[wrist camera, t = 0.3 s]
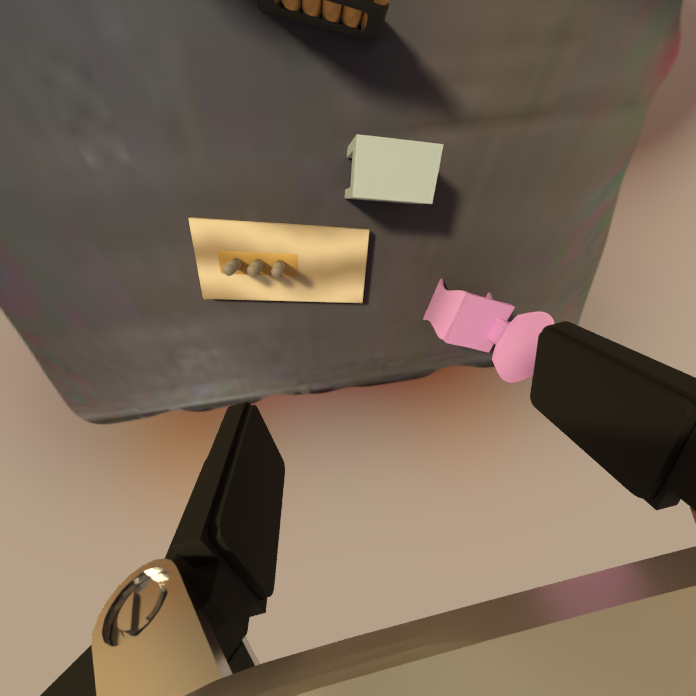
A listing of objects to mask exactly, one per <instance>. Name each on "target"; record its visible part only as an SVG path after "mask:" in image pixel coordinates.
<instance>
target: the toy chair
mask: <svg viewBox="0 0 696 696" xmlns="http://www.w3.org/2000/svg"><path fill="white" fill-rule="evenodd" d="M514 308H515V307H514V306H512V305H511V304H508V303H503V302H499V301H496V300H493V298H492V295H491V293H488V294H487V296H486V298H485V297H481V296H478V295H475V294H471V293H468V292H465V291H462V290H454V291H448V290H446V289H445V288H444V284H443V279H440V281H439V283H438V286H437V288H436V290H435V293H434V295H433V297H432V300H431V302H430V304H429V307H428V309H427V311H426V313H425V316H424V318H423V320H428V321H430V322H431V324H432V325H433V327H434V329H435V331H436V334H437V335H438V337H439V338H441V339H443V340H444V341H445V342H446V343H449V344H453V345H458V346H463V347H468V348H472V349H476V350H480V351H484V352H489V351H490V350H491V348H492V346H493V344H495V345H496V346H495V349H494V353H493V357H492V361H493V363H494V365H495V368H496V370H497V372H498V374H499V376H500V377H501V378H502V379H503V380H504V381H506V382H508V383H515V382H519V381H522V380H524V379H527V378H529V377H531V376H533V372H534V365H535V357H536V350H537V342H538V336H539V334H540V333H541V332H542V330H543V328H544V327H546V326H548V325H552V324H554V320H553V319H552V317H551V316H550V315H549V314H548V313H545V312H531V313H526V314H522V315H517V316H516V317H515V318H514V319H513V320H512V321H511V322H508V321H507V320H508V318H509V317H510V315H511V313H512V312H513V310H514Z"/></svg>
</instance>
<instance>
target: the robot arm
mask: <svg viewBox="0 0 696 696" xmlns="http://www.w3.org/2000/svg"><path fill="white" fill-rule="evenodd" d="M530 399H531V402H532V404H533V406H534V407H535V408H536V409H537V410H539V411H540V412H541V413H542V414H543V415H544V416H545V417H546V418H548V419H549V420H550V421H551V422H552V423H553V424H554V425H555V426H557V427H558V428H559V429H560V430H561V431H562V432H563V433H564V434H566V435H567V436H568V437H569V438H570V439H571V440H572V441H573V442H575V443H576V444H577V445H578V446H579V447H580V448H581V449H583V450H584V451H585V452H586V453H587V454H588V455H589V456H590V457H592V458H593V459H594V460H595V461H596V462H597V463H598V464H599V465H600V466H602V467H603V468H604V469H605V470H606V471H607V472H608V473H609V474H611V475H612V476H613V477H614V478H615V479H616V480H617V481H618V482H620V483H621V484H622V485H623V486H624V487H625V488H626V489H628V490H629V491H630V492H631V493H632V494H634V495H635V496H637V497H639V498H643V499H644V500H645V501H646V502H648V503H649V504H650V505H651V506H652V507H653V508H654V509H656V510H659V509H663V508H667V507H671V506H675V505H677V504H678V503H679V501H680V499H682V500H683V501H684V502H686V503H687V504H688V505H689V506H690V509H691V512H692V514H693V517H694V520H695V523H696V378H694V377H692V376H690V375H688V374H686V373H683V372H681V371H679V370H677V369H674V368H672V367H670V366H667V365H665V364H663V363H661V362H659V361H656V360H654V359H652V358H650V357H647V356H645V355H643V354H640V353H638V352H636V351H634V350H631V349H629V348H627V347H625V346H622V345H620V344H618V343H616V342H613V341H611V340H609V339H607V338H604V337H602V336H600V335H597V334H595V333H593V332H590V331H588V330H586V329H584V328H582V327H579V326H577V325H575V324H573V323H570V322H567V321H565V322H560V323H556V324H552V325H548V326H546V327H544V328H543V330H542V332H541V333H540V334H539V336H538V342H537V350H536V357H535V365H534V372H533V379H532V387H531V394H530ZM284 476H285V465H284V461H283V459H282V457H281V455H280V453H279V451H278V449H277V447H276V445H275V443H274V441H273V439H272V436H271V434H270V432H269V430H268V428H267V426H266V424H265V422H264V420H263V418H262V416H261V414H260V412H259V410H258V408H257V406H256V405H251V404H250V403H249V402H245V403H241V404H237V405H233V406H230V407H228V409H227V411H226V414H225V416H224V419H223V421H222V423H221V426H220V428H219V431H218V433H217V436H216V438H215V440H214V443H213V445H212V448H211V451H210V453H209V455H208V457H207V459H206V461H205V462H204V465H203V467H202V470H201V472H200V474H199V477H198V479H197V482H196V484H195V487H194V489H193V491H192V494H191V496H190V499H189V502H188V504H187V506H186V509H185V511H184V513H183V516H182V518H181V521H180V523H179V525H178V528H177V530H176V533H175V535H174V538H173V540H172V542H171V545H170V547H169V550H168V552H167V555H166V557H165V559H164V558H163V559H157V560H153V561H151V562H149V563H147V564H145V565H143V566H141V567H140V568H139V569H137V570H136V571H134V572H133V573H132V574H131V575H129V576H128V577H127V578H126V579H125V580H124V581H123V582H122V583H121V584H120V585H119V586H118V587H117V589H116V590H115V591H114V593H113V594H112V595H111V597H110V598H109V599H108V600H107V602H106V604H105V605H104V607H103V609H102V611H101V613H100V614H99V616H98V619H97V622H96V624H95V627H94V630H93V634H92V645H91V646H90V647H89V648H88V649H87V650H86V651H85V652H84V653H83V654H82V655H81V656H80V657H79V658H78V659H77V660H76V661H75V662H74V663H73V664H72V665H71V666H70V667H69V668H68V669H67V670H66V671H65V672H64V673H63V674H62V675H61V676H59V677H58V679H57V680H56V681H55V682H54V683H52V685H50V686H49V687H48V688H47V690H45V691H44V692H43V694H41V695H40V696H696V547H691V548H688V549H684V550H680V551H676V552H672V553H669V554H664V555H660V556H657V557H653V558H649V559H645V560H642V561H637V562H634V563H629V564H626V565H622V566H618V567H615V568H610V569H607V570H603V571H599V572H596V573H591V574H588V575H584V576H580V577H576V578H573V579H569V580H565V581H561V582H557V583H554V584H550V585H546V586H543V587H538V588H535V589H531V590H527V591H524V592H519V593H516V594H512V595H508V596H505V597H501V598H497V599H493V600H489V601H485V602H482V603H478V604H474V605H470V606H467V607H463V608H460V609H456V610H452V611H448V612H444V613H441V614H437V615H434V616H430V617H426V618H422V619H419V620H415V621H411V622H407V623H404V624H400V625H397V626H393V627H389V628H385V629H382V630H378V631H374V632H370V633H367V634H363V635H359V636H355V637H352V638H348V639H344V640H341V641H338V642H334V643H331V644H327V645H324V646H321V647H317V648H314V649H310V650H307V651H304V652H300V653H297V654H293V655H290V656H287V657H283V658H280V659H276V660H273V661H269V662H266V663H263V664H260V663H259V662H258V660H257V658H256V656H255V654H254V652H253V650H252V648H251V646H250V644H249V642H248V640H247V638H246V637H245V635H246V634H247V630H248V623H249V617H251V616H254V615H258V614H262V613H265V612H266V603H267V597H270V596H271V595H272V593H273V590H274V582H275V573H276V562H277V550H278V540H279V530H280V519H281V508H282V497H283V487H284Z"/></svg>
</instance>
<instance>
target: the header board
mask: <svg viewBox="0 0 696 696" xmlns="http://www.w3.org/2000/svg"><path fill="white" fill-rule="evenodd" d="M189 224H190V229H191V235H192V240H193V246H194V251H195V257H196V262H197V267H198V273H199V278H200V284H201V289H202V295H203V299H232V300H270V301H307V302H345V303H362V302H363V291H364V281H365V271H366V260H367V250H368V240H369V230H368V229H357V228H342V227H327V226H312V225H296V224H281V223H266V222H251V221H236V220H220V219H205V218H189Z"/></svg>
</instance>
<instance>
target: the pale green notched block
mask: <svg viewBox="0 0 696 696" xmlns="http://www.w3.org/2000/svg"><path fill="white" fill-rule="evenodd" d="M442 149H443V144H436V143H427V142H419V141H410V140H401V139H393V138H384V137H375V136H367V135H358V134H357V135H356V136H355V138H354V139H353V141H352V142H351V143H350V145H349V146H348V149H347V158H352V171H351V187H350V188H348V189H345V198H346V199H358V200H371V201H383V202H395V203H407V204H432V203H433V197H434V192H435V187H436V181H437V176H438V170H439V165H440V160H441V154H442Z"/></svg>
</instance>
